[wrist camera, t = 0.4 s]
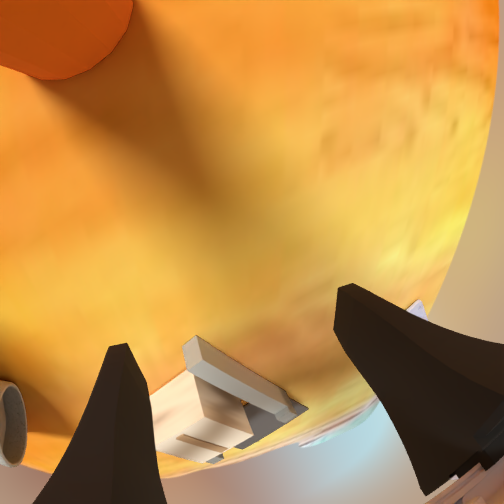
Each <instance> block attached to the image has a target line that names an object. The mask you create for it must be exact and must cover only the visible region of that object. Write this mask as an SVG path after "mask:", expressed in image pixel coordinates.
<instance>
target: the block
mask: <svg viewBox="0 0 504 504" xmlns="http://www.w3.org/2000/svg"><path fill="white" fill-rule="evenodd" d="M149 397H150V402H151V408H152V417H153V428H154V438H155V447H156V451H159V452H163V453H166V454H169V455H173V456H176V457H180V458H184V459H187V460H191V461H195V462H199V463H204V462H206V461H208V460H210V459H212V458H214V457H216V456H218V455H219V454H221V453H223V452H225V451H227V450H229V449H231V448H232V447H234V446H236V445H238V444H239V443H241V442H243V441H245V440H246V439H248V438H250V437H252V436H253V435H254V434H253V432H252V429H251V427H250V424H249V421H248V419H247V416H246V413H245V411H244V408H243V405H242V403H241V400H240V398H238V397H236V396H234V395H232V394H230V393H228V392H226V391H224V390H222V389H220V388H218V387H216V386H214V385H212V384H210V383H209V382H207V381H205V380H203V379H201V378H199V377H197V376H195V375H194V374H192V373H190V372H188V371H187V370H185V371H184V372H183V373H181V374H180V375H178V376H177V377H176V378H174V379H173V380H172V381H170V382H169V383H167V384H166V385H165V386H163V387H162V388H161V389H159V390H158V391H156V392H155V393H154V394H152V395H151V396H149Z"/></svg>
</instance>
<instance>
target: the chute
mask: <svg viewBox="0 0 504 504" xmlns="http://www.w3.org/2000/svg"><path fill="white" fill-rule="evenodd" d="M182 349H183V354H184V358H185V363H186V367H187V371H188V372H190V373H192V374H194V375H195V376H197V377H199V378H201V379H203V380H205V381H207V382H209V383H210V384H212V385H214V386H216V387H218V388H220V389H222V390H224V391H226V392H228V393H230V394H232V395H234V396H236V397H238V398H240V399H242V400H244V401H246V402H249V403H251V404H253V405H255V406H257V407H259V408H261V409H264V410H266V411H268V412H270V413H273V414H275V417H276V419H277V420H278V421H281V422H283V423H286V422H288V421H290V420H291V419H293V418H294V417H296V416H297V413H296V411H295V409H294V407H293V405H292V403H291V401H290V399H289V397H288V395H287V393H286V391H284V390H283V389H281V388H279V387H278V386H276V385H274V384H272V383H271V382H269V381H267V380H266V379H264V378H262V377H261V376H259V375H257V374H256V373H254V372H252V371H251V370H249V369H248V368H246V367H244V366H243V365H241V364H239V363H238V362H236V361H235V360H233V359H232V358H230V357H228V356H227V355H225V354H224V353H222V352H221V351H219V350H218V349H216V348H215V347H213V346H211V345H210V344H208V343H207V342H205V341H204V340H202V339H201V338H200V337H198V336H197V335H196V336H195V337H193V338H192V339H191V340H190V341H188V342H187V343H186V344H184V345H183V346H182ZM222 459H224V457H223V454H222V453H221V454H219V455H218V456H216V457H214V458H212V459H210V460H208V461H206V462H208V463H212V464H215V463H217V462H219V461H220V460H222Z"/></svg>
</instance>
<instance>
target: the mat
mask: <svg viewBox="0 0 504 504" xmlns="http://www.w3.org/2000/svg"><path fill="white" fill-rule="evenodd" d="M289 399H290V398H289ZM290 401H291V403H292V405H293V407H294V409H295V411H296V413H297V416H299V415H300V414H302V413H304V412H305V411H307V410H308V408H307V407H305V406H303V405H301V404H300V403H298V402H296V401H294V400H292V399H290ZM243 408H244V411H245V413H246V416H247V419H248V421H249V424H250V427H251V429H252V432H253V434H254V435H253V436H252V437H250V438H248V439H246V440H245V441H243V442H241V443H239V444H238V445H236V446H234V447H235V448H239V449H245V448H246V447H248V446H250V445H252V444H253V443H255V442H257V441H259V440H260V439H262V438H264V437H265V436H267V435H269V434H270V433H272V432H274V431H275V430H277V429H279V428H280V427H282V426H283V425H285V424H287V423H288V422H290V421H291V420H293V419H294V418H296V417H297V416H296V417H294V418H293V419H291V420H290V421H288V422H286V423H283V422H281V421H278V420H277V419H276V417H275V414H273V413H270V412H268V411H266V410H264V409H261V408H259V407H257V406H255V405H253V404H251V403H248V404H246V405H245V406H243Z"/></svg>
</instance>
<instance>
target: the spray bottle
mask: <svg viewBox="0 0 504 504" xmlns="http://www.w3.org/2000/svg"><path fill="white" fill-rule="evenodd" d="M132 9H133V2H132V0H0V65H1V66H4V67H7V68H10V69H13V70H16V71H19V72H21V73H24V74H27V75H30V76H32V77H35V78H38V79H40V80H56V79H67V78H70V77H72V76H75V75H77V74H80V73H82V72H85V71H87V70H90V69H91V68H92V67H94V66H95V65H96V64H97V63H99V62H100V61H101V60H102V59H103V58H105V57H106V56H107V55H109V54H110V53H111V52H112V51H113V49H114V48H115V46H116V45H117V43H118V42H119V40H120V39H121V38H122V36H123V35H124V33H125V32H126V30H127V28H128V24H129V20H130V16H131V12H132Z"/></svg>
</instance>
